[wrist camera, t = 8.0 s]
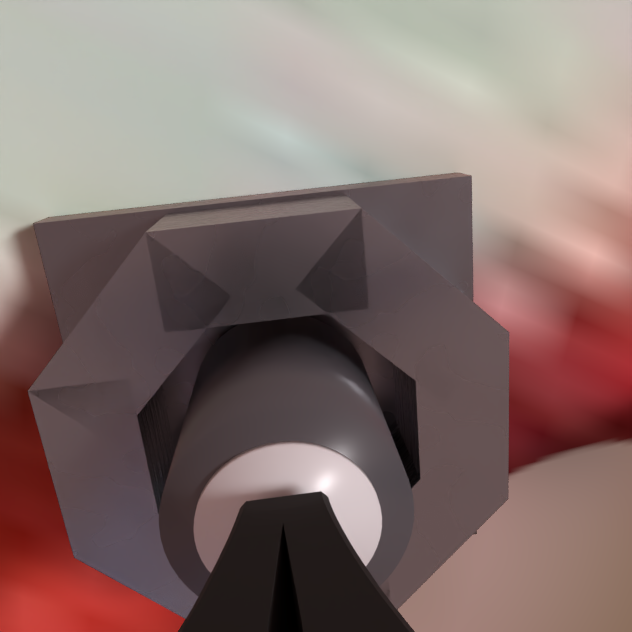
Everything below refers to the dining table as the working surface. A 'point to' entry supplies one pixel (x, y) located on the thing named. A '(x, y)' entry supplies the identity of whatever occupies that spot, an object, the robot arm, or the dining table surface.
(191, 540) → the cap
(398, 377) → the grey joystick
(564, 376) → the dining table surface
